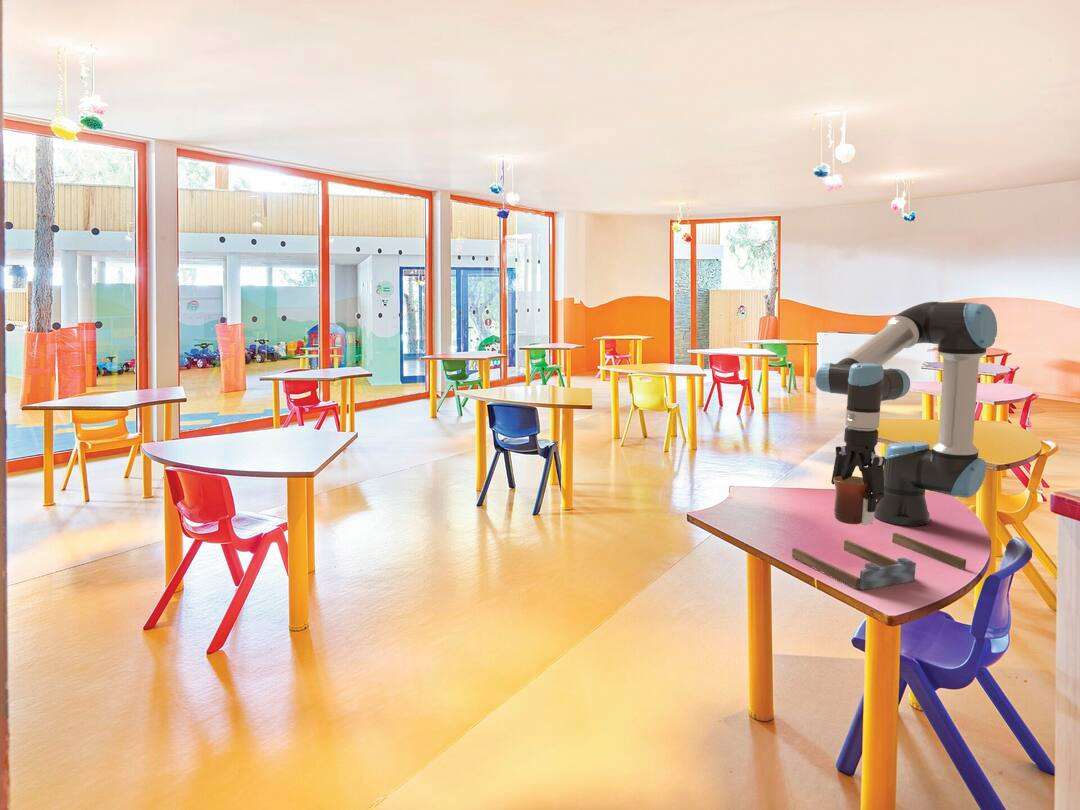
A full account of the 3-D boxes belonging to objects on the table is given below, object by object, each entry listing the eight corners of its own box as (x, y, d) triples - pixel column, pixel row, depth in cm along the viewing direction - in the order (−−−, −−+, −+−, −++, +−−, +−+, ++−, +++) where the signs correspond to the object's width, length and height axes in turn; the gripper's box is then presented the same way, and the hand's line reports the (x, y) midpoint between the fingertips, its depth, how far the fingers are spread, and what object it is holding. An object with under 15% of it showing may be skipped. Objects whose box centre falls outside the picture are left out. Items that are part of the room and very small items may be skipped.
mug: (839, 526, 187) (842, 484, 185) (824, 515, 195) (827, 475, 194) (888, 526, 187) (892, 484, 186) (872, 515, 196) (875, 475, 194)
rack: (895, 541, 214) (896, 522, 213) (971, 571, 192) (973, 550, 191) (791, 557, 201) (793, 537, 200) (861, 592, 179) (863, 569, 178)
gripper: (819, 421, 196) (813, 509, 200) (882, 436, 177) (874, 533, 181) (843, 419, 199) (836, 506, 203) (907, 434, 180) (898, 530, 184)
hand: (854, 519), depth 192 cm, fingers closed on mug, 7 cm apart
